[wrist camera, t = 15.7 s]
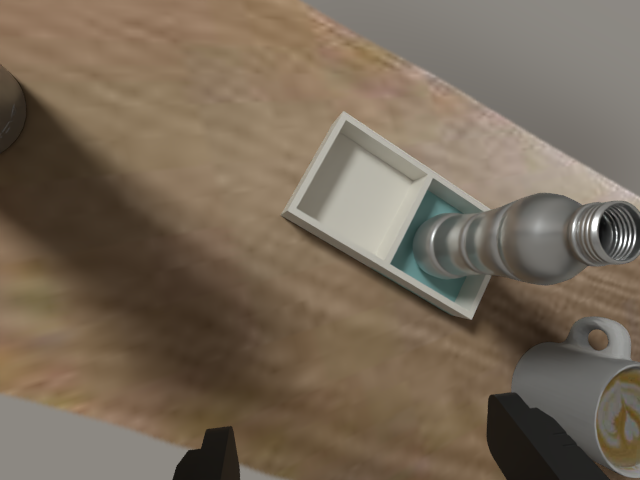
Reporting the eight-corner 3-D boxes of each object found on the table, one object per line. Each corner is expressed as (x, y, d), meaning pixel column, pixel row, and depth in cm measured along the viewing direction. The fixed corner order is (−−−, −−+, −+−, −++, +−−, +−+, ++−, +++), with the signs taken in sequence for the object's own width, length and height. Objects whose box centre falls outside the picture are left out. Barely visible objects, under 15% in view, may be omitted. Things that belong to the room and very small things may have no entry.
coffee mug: (570, 443, 46) (665, 491, 36) (500, 417, 44) (581, 461, 34) (601, 330, 48) (699, 347, 38) (535, 300, 46) (621, 310, 36)
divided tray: (280, 215, 39) (287, 210, 35) (332, 123, 41) (343, 111, 37) (450, 315, 43) (471, 319, 39) (490, 228, 45) (514, 225, 41)
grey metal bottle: (471, 256, 43) (682, 249, 24) (424, 291, 41) (609, 313, 22) (442, 204, 43) (633, 153, 23) (392, 237, 41) (554, 212, 22)
